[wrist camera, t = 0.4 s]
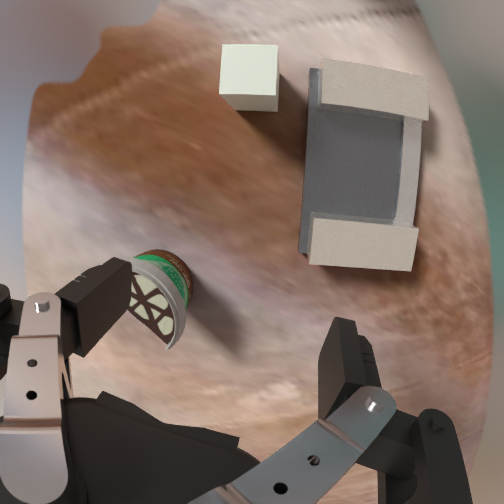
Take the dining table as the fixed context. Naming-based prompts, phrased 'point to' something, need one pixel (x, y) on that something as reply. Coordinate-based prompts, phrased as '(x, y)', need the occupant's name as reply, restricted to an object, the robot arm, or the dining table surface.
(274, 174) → the dining table surface
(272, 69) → the block
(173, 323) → the food container
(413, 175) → the rail plate
